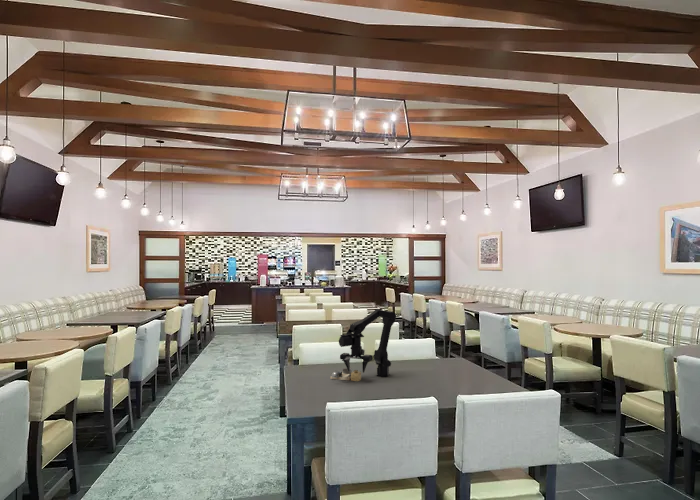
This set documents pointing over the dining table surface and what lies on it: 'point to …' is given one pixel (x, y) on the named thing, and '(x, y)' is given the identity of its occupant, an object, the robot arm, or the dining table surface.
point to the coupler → (355, 375)
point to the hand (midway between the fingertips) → (356, 371)
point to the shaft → (336, 374)
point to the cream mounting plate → (344, 375)
